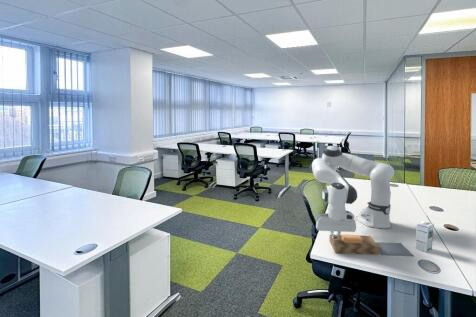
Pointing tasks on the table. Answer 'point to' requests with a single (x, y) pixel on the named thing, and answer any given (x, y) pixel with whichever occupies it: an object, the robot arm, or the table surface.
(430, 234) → the syrup box
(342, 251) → the deck
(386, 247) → the mat
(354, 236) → the block
